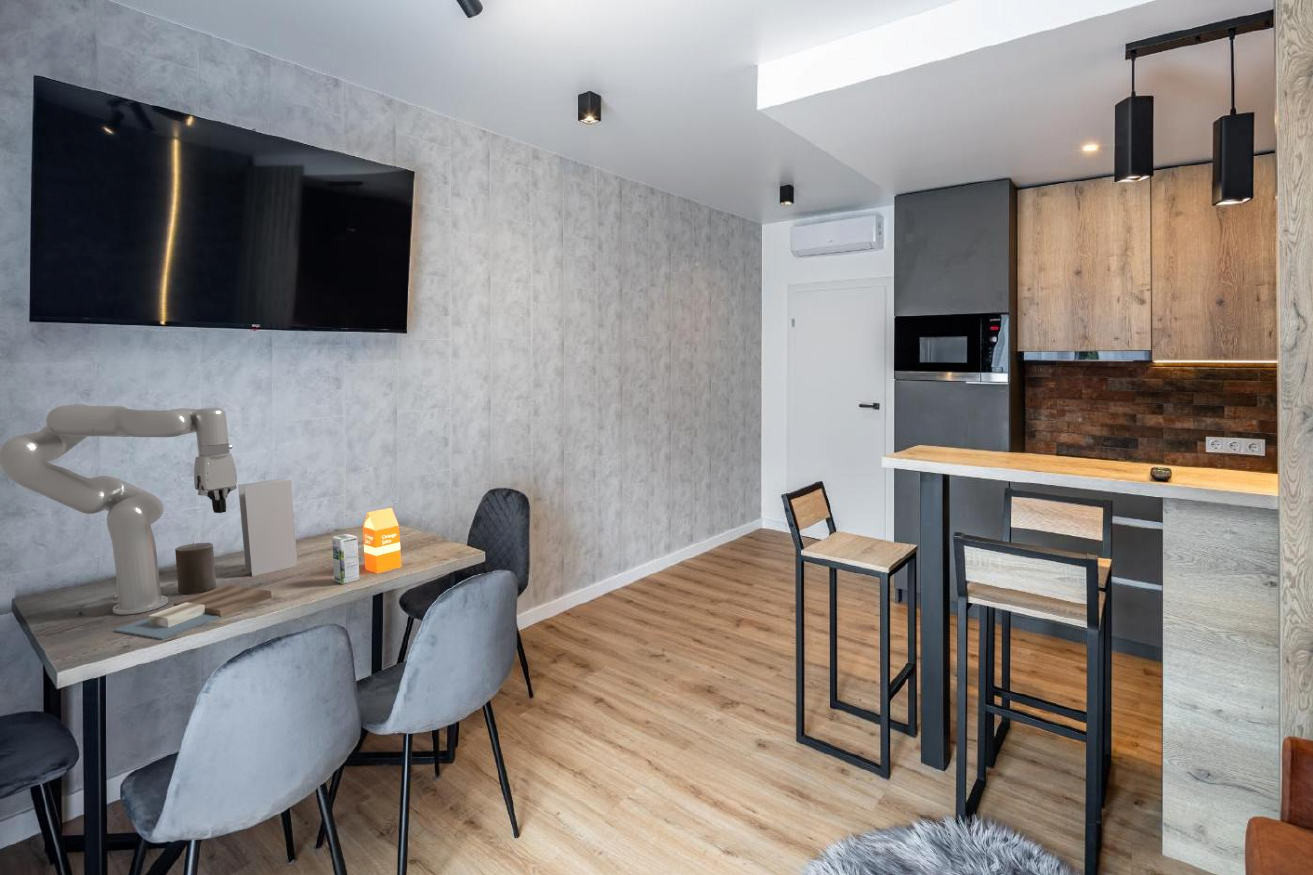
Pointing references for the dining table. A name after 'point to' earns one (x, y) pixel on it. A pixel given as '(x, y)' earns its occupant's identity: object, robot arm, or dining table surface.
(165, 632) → the mat
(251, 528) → the tall grey block
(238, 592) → the board
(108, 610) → the dining table surface
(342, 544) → the syrup box
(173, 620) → the tile
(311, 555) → the dining table surface
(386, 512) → the orange juice
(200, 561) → the pillar candle
